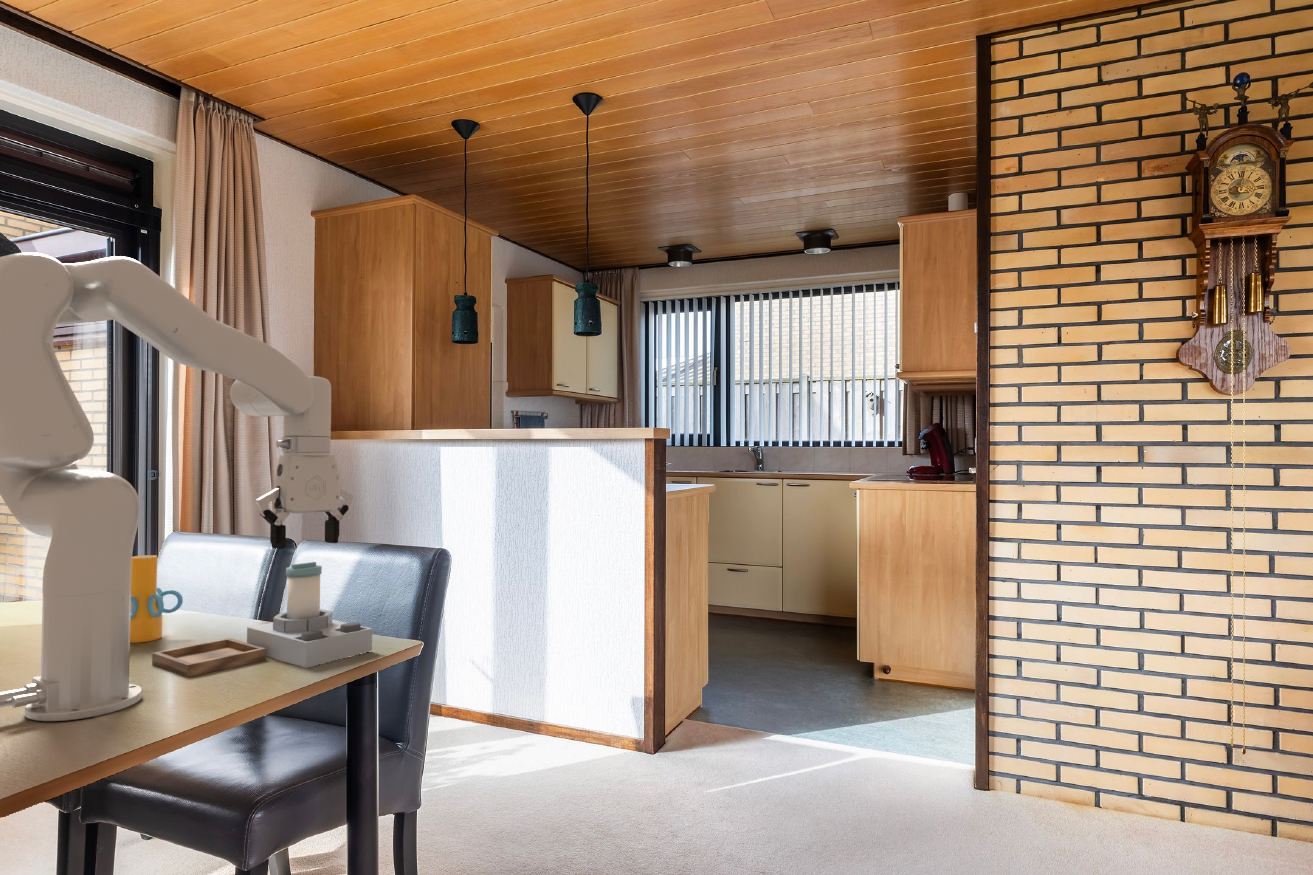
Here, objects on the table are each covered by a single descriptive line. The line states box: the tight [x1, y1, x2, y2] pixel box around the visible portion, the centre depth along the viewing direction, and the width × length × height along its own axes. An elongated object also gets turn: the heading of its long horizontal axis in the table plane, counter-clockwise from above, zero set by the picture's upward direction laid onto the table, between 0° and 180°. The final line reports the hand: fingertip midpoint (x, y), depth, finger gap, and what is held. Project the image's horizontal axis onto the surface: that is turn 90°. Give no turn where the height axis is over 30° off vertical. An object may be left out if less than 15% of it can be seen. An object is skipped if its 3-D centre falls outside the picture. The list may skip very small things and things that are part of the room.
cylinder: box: [130, 554, 184, 644], centre depth 137 cm, size 12×10×15 cm
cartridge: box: [285, 561, 323, 619], centre depth 131 cm, size 6×6×11 cm
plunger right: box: [340, 622, 362, 633], centre depth 129 cm, size 3×3×4 cm
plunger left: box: [301, 631, 323, 642], centre depth 123 cm, size 3×3×4 cm
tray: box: [151, 637, 267, 677], centre depth 123 cm, size 12×12×2 cm
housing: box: [246, 608, 373, 669], centre depth 129 cm, size 12×18×6 cm, turn 56°
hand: (305, 545), depth 131 cm, fingers open, 9 cm apart
